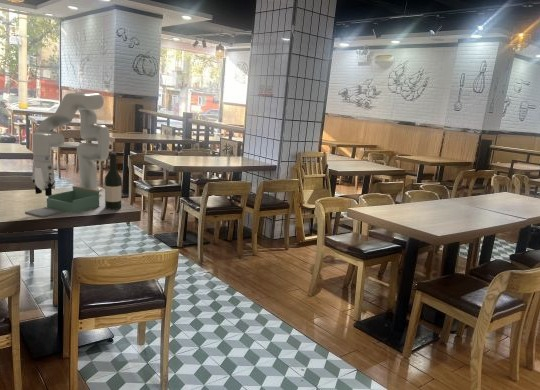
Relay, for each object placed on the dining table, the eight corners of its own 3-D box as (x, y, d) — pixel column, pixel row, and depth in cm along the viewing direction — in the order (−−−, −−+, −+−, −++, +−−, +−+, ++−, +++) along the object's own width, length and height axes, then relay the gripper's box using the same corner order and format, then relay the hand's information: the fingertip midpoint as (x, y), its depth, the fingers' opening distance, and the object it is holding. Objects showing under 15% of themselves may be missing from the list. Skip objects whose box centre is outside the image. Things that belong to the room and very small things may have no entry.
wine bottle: (119, 209, 234) (119, 154, 228) (103, 209, 233) (103, 153, 227) (122, 206, 242) (122, 152, 236) (106, 205, 241) (106, 151, 235)
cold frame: (74, 201, 245) (74, 186, 243) (99, 206, 238) (99, 190, 236) (46, 207, 228) (46, 191, 226) (72, 213, 221) (72, 196, 219)
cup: (37, 210, 213) (35, 168, 209) (34, 206, 219) (32, 166, 215) (53, 209, 218) (52, 167, 213) (50, 205, 223) (49, 165, 219)
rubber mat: (45, 208, 226) (45, 207, 226) (62, 212, 222) (62, 210, 222) (24, 213, 216) (24, 211, 215) (42, 217, 211) (42, 215, 211)
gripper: (61, 159, 213) (62, 195, 217) (36, 155, 220) (37, 190, 224) (48, 161, 206) (49, 198, 210) (22, 157, 213) (24, 193, 217)
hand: (43, 194), depth 217 cm, fingers closed on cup, 6 cm apart
